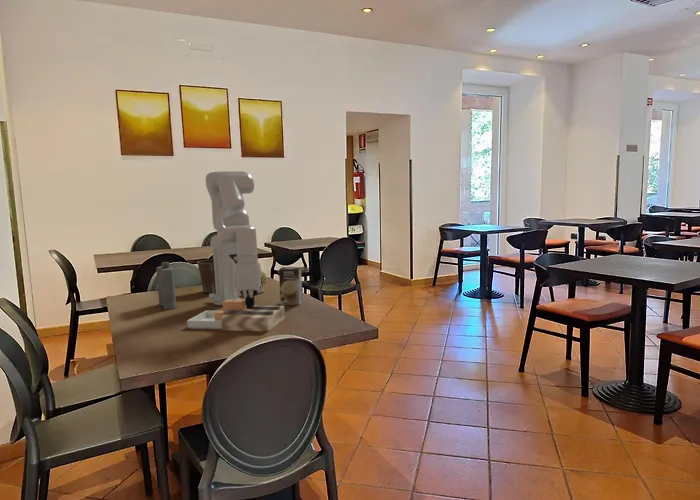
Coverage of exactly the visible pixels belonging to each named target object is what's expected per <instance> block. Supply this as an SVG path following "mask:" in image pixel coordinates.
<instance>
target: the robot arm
mask: <svg viewBox="0 0 700 500" xmlns="http://www.w3.org/2000/svg"><path fill="white" fill-rule="evenodd" d="M205 186H206V190H207V192H208V194H209V197H210V200H211V213H212V214H211V215H212V217H211V218H212V225H213V229H214V230H215V231H216V233H217V234H215V235H213V236H212V238H211V239H210V249H211V251H212V252H211V253H212V258H213V259H214V270H215V284H216V293H215V294H208V298H209V299H213V301H212V303H213V305H214V306H215V305H216V306H223V305H222V302H223V301H225V300H232V299H236V300H242V298H241V297H239V294H240V295H242V296H243V298H244V300H245V303H246V306H247V308H252V307H254V305H255V304H256V303H255V297H256V296H257V294H260V292H263V277H262V266H261V264H260V262H259V259H258V243H257V242H258V241H257V239H258V238H257V230H256V229H257V228H256V227H254V226H253V225H251V224H250V217H249V214H248V212H247V211H246V210H245V209H244V208H245V199H244V196H243V194H248V195H249V194H252V193H253V192H254V190H255V181H254V178H253V176H252V174H250V173H249V172H246V171H238V170H237V171H234V170H233V171H225V170H223V171H222V170H221V171H219V170H218V171H211V172H209V173H207V174H206V175H205ZM230 255H236V256H233V258H232V257H230ZM235 261H236V262H235ZM249 290H250V294H249ZM263 293H264V292H263Z"/></svg>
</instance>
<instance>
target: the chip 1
mask: <svg viewBox="0 0 700 500" xmlns="http://www.w3.org/2000/svg"><path fill="white" fill-rule="evenodd" d="M216 311H217V312H215V313H214V315H215V321H221V317H222V316H224V315H225V314H226V312H223V310H216Z"/></svg>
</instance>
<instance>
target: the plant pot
mask: <svg viewBox="0 0 700 500" xmlns="http://www.w3.org/2000/svg"><path fill="white" fill-rule="evenodd" d="M196 264H197V266H198V271H199V274H200V275H199V276H200V280H201V285H202V287H201V288H202V293H203V294H208V295H209V294H215V293H216V284H215V270H214V259H211V258H210V259H204V260H202V259H201V260H198V261H196Z"/></svg>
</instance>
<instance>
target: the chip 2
mask: <svg viewBox="0 0 700 500" xmlns="http://www.w3.org/2000/svg"><path fill="white" fill-rule="evenodd" d="M232 305H233V310H245V311H246V310H247V306H246V303H245V299H241V300H235V301H233V302H232Z"/></svg>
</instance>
